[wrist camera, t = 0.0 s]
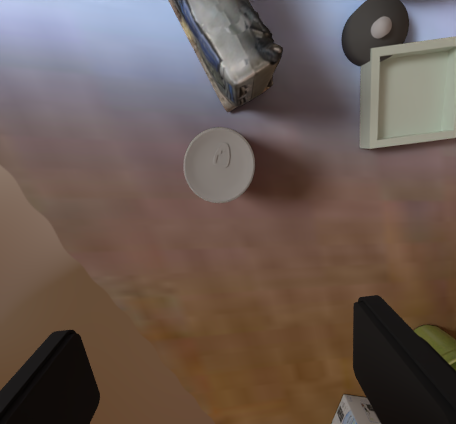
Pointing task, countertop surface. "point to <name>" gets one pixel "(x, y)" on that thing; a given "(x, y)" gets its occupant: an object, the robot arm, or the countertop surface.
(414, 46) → the parts tray
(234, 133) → the canned food
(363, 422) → the light bulb box
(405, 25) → the wheel
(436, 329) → the plant pot
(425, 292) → the countertop surface
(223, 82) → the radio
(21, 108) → the countertop surface
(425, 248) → the countertop surface
